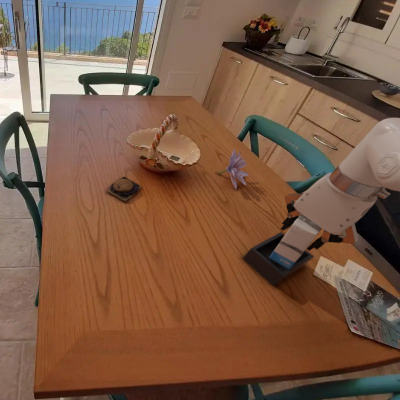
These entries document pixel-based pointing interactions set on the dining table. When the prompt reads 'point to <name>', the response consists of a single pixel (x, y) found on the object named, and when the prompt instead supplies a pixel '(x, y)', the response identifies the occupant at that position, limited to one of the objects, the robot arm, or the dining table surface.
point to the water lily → (236, 168)
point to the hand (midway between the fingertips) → (298, 237)
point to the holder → (269, 267)
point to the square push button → (124, 189)
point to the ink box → (295, 241)
